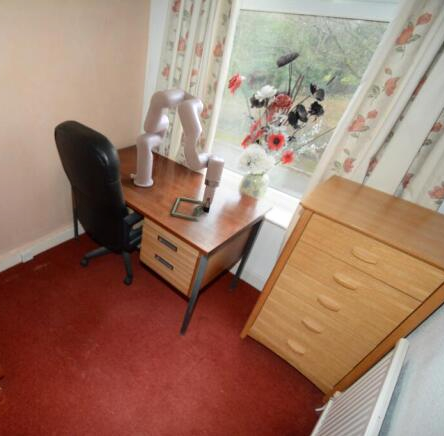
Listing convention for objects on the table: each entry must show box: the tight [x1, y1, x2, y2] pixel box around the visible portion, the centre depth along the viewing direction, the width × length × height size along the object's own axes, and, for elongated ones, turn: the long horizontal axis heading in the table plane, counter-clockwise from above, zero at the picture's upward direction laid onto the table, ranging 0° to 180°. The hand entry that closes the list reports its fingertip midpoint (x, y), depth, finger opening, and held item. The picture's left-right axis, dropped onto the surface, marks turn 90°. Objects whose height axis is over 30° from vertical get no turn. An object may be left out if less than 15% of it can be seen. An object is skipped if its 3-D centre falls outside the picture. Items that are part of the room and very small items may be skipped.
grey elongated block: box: [192, 202, 205, 217], centre depth 148 cm, size 12×3×4 cm, turn 141°
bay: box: [170, 196, 203, 222], centre depth 151 cm, size 14×19×2 cm
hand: (205, 211), depth 148 cm, fingers closed
